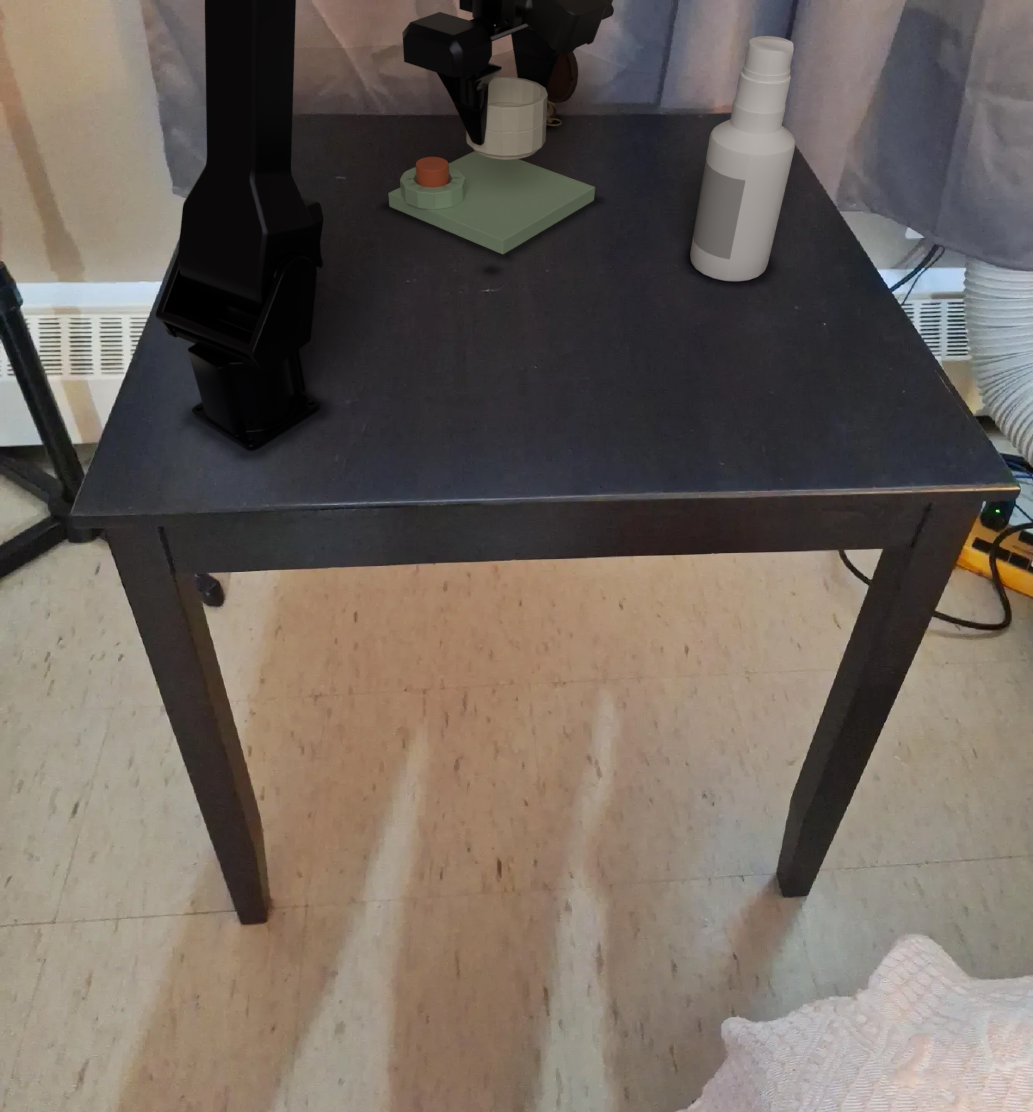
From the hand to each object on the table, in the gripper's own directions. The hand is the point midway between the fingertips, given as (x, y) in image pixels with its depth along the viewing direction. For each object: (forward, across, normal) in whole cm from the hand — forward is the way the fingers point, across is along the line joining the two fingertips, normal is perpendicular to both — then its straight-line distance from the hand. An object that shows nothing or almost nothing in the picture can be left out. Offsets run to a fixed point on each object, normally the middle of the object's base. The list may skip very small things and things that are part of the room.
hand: (504, 130), depth 82 cm
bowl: (+1, 0, 0) cm, 1 cm away
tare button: (+6, -2, +7) cm, 9 cm away
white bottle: (+8, +7, -20) cm, 23 cm away
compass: (+8, +21, +12) cm, 26 cm away
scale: (+8, +2, +3) cm, 9 cm away
